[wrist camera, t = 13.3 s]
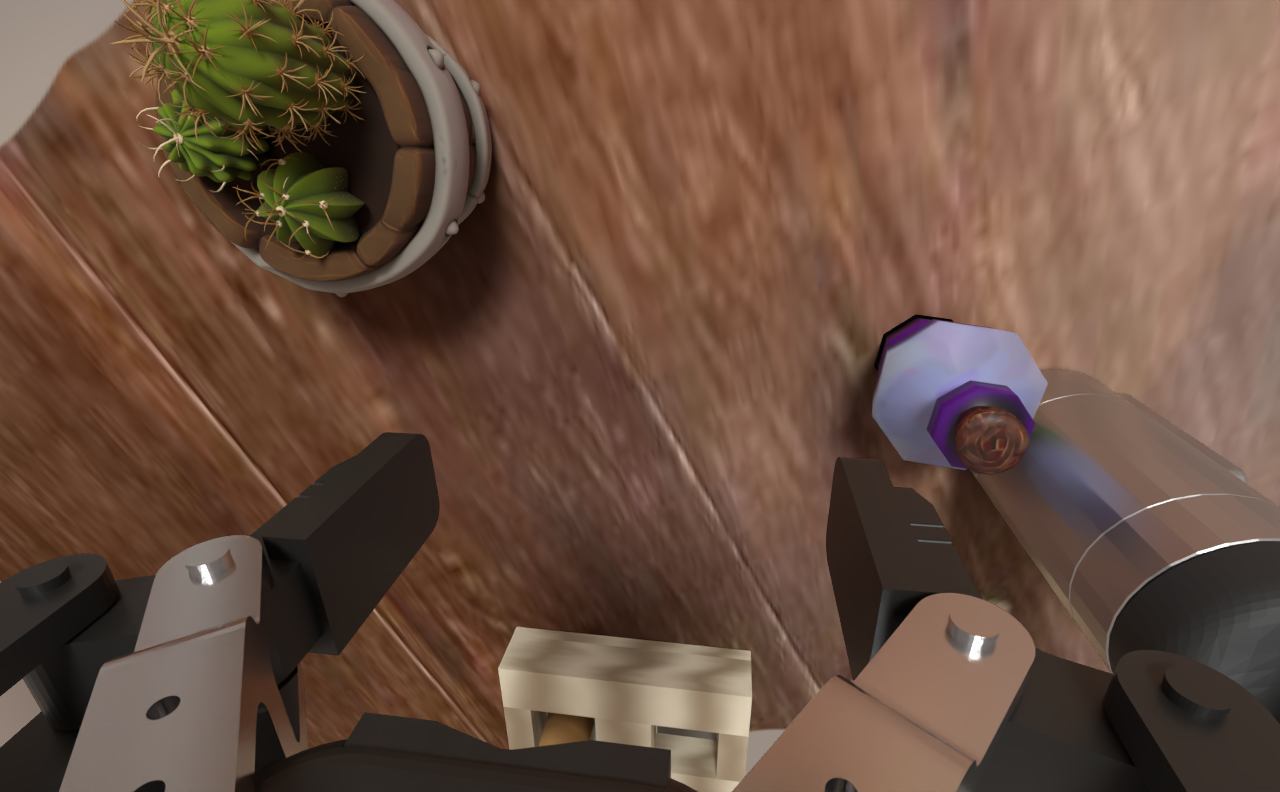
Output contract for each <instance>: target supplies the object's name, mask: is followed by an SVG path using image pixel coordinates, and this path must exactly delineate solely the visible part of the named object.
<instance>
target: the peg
mask: <svg viewBox="0 0 1280 792" xmlns="http://www.w3.org/2000/svg"><path fill="white" fill-rule="evenodd" d="M594 719H595V718H591V717H583V716H575V715H566V714H558V713H550V712H548V716H547V719H546V722H545V726H544V729H543V733H542V736H541V739H540V743H539V746H547V745H555V744H563V743H571V742H580V741H588V740H590V738H591V733H592V729H593V724H594Z"/></svg>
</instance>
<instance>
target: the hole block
mask: <svg viewBox="0 0 1280 792" xmlns="http://www.w3.org/2000/svg"><path fill="white" fill-rule="evenodd" d="M498 671H499V678H500V685H501V692H502V699H503V706H504V713H505V720H506V727H507V735H508V742H509V749H510V750H513V749H522V748H530V747H538V746H539V743H540V739H541V736H542V733H543V729H544V726H545V722H546V719H547V716H548V712H550V713H558V714H566V715H575V716H583V717H591V718H595V719H594V724H593V729H592V733H591V738H590V740H595V741H603V742H611V743H620V744H628V745H636V746H644V747H652V748H661V749H669V750H671V778H672V779H674V780H676V781H679V782H681V783H683V784H686V785H687V786H689V787H691V788H693V789H694V790H696V791H698V792H732V791H733V790H734V788H735V787H736V786H737V785H738V784H739V783H740V781H741V780H742V779H743V778H744V777H745V771H746V760H747V748H748V738H749V726H750V715H751V703H752V679H751V651H746V650H737V649H727V648H717V647H708V646H698V645H688V644H679V643H669V642H659V641H650V640H640V639H630V638H621V637H611V636H602V635H592V634H582V633H573V632H563V631H553V630H544V629H534V628H524V627H516V629H515V632H514V634H513V636H512V638H511V641H510V643H509V645H508V647H507V650H506V652H505V654H504V656H503V659H502V661H501V663H500V665H499V668H498Z"/></svg>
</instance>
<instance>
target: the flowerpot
mask: <svg viewBox="0 0 1280 792" xmlns="http://www.w3.org/2000/svg"><path fill="white" fill-rule="evenodd" d="M122 1H123V2H124V4H125V5H126V6H127V7H128V8H129V10H128V11H130V10H131V11H132V12H133V13H134V14H135V15H136V16H137V17H138V18H139V19H138V18H137V17H136V18H137V19H138V20H139V21H140V22H141V23H142V24H141V23H139V22H138V21H137V22H138V23H139V24H140V25H141V26H142V28H141V27H140V26H138V25H137V24H135V23H134V22H133V21H132V20H131V19H129V18H128V17H127V16H126V15H125V14H124V13H123V14H124V16H125V17H124V18H125V19H126V20H127V22H128V23H129V24H130V26H131V27H132V28H133V29H132V28H129V27H127V26H125V25H123V24H120V23H118V22H116V21H115V22H116V23H118V24H119V25H121V26H122V27H124V28H127V29H129V30H131V31H133V32H136V33H140V34H141V35H134V36H131V37H127V38H126V39H125V40H122V41H118V42H114V43H110V44H124V43H134V44H133V45H132V46H133V48H134V49H135V47H134V46H136V45H135V44H136V43H139V42H148V43H147V47H146V51H145V53H146V55H147V58H149V60H148V59H147V58H146V57H145V56H144V55H143V54H142V53H141V51H140V50H139V49H138V47H137V46H136V48H137V49H138V51H139V52H138V51H137V50H136V49H135V51H136V52H137V53H138V54H139V55H140V56H141V57H142V58H143V59H145V60H147V62H146V61H143V60H141V59H139V58H137V57H135V56H133V55H132V54H130V53H129V54H130V55H131V56H132V57H133V58H132V57H131V58H132V59H133V60H134V61H136V62H137V63H139V64H142V65H144V66H142V67H140V68H138V69H136V70H134V71H133V72H132V74H133V73H135V72H136V71H138V70H139V69H141V68H143V67H144V70H143V74H141V75H140V76H136V77H133V78H137V77H140V78H141V77H142V80H141V82H143V79H144V77H146V76H151V77H150V78H149V79H148V80H146V82H145V84H146V83H148V82H149V81H150V80H151V85H152V89H153V78H154V77H156V76H157V90H156V107H154V108H146V109H144V110H142V111H140V112H139V114H138V115H137V117H138V116H139V115H140V114H141V113H142V112H145V111H150V110H156V113H157V119H156V118H154V117H153V118H154V119H156V120H157V122H158V126H155V127H154V128H153V129H152V128H146V127H142V128H146V129H151V130H154V132H155V133H157V134H159V135H161V136H162V144H161V145H160V146H159V147H158V148H148V147H146V146H144V147H146V148H147V149H151V150H156V152H155V155H154V161H155V156H156V154H157V152H158V150H162V149H163V151H164V154H165V157H166V160H167V161H166V162H165V163H164V164H163V165H162V166H161V168H160V171H159V173H160V172H161V170H162V168H163V167H164V166H165V165H166V164H167V163H168V165H169V167H170V169H171V171H172V173H173V175H174V176H175V178H176V180H177V181H178V183H179V185H180V186H181V188H182V189H183V190H184V192H185V193H186V194H187V196H188V197H189V198H190V200H191V201H192V202H193V203H194V205H195V206H196V207H197V208H198V209H199V211H200V212H201V213H202V214H203V215H204V216H205V217H206V218H207V219H208V221H209V222H210V223H211V224H212V225H213V226H214V227H215V228H216V229H217V230H218V231H219V232H220V233H221V234H222V235H224V236H225V237H226V238H227V239H228V240H230V241H231V242H232V243H233V244H234V245H235V246H236V247H237V248H238V249H240V250H241V251H242V252H243V253H244V254H245V255H246V256H247V257H248V258H250V259H251V260H252V261H253V262H254V263H255V264H256V265H258V266H259V267H260V268H262V269H265V270H267V271H270V272H272V273H274V274H277V275H279V276H281V277H283V278H285V279H287V280H289V281H291V282H293V283H295V284H297V285H299V286H301V287H303V288H306V289H309V290H314V291H321V292H329V293H335V294H336V295H337V296H339V297H345V296H346V295H347V294H348V293H353V292H359V291H364V290H369V289H373V288H377V287H380V286H383V285H386V284H389V283H392V282H394V281H397V280H399V279H401V278H403V277H405V276H407V275H409V274H410V273H412V272H413V271H415V270H416V269H418V268H419V267H420V266H422V265H423V264H424V263H426V262H427V261H428V260H429V259H430V258H431V257H432V256H434V255H435V254H436V253H437V252H438V251H439V250H440V249H441V248H442V247H443V246H444V245H445V244H446V242H447V241H448V240H449V239H450V237H451V236H452V235H454V234H456V233H458V231H459V228H458V225H459V224H460V223H461V222H463V221H464V220H465V219H466V218H467V217H468V216H469V215H470V213H471V212H472V211H473V210H474V208H475V207H476V205H477V204H480V203H482V202H483V201H484V200H485V194H484V190H485V187H486V185H487V182H488V179H489V173H490V167H491V156H492V143H491V133H490V126H489V121H488V116H487V112H486V109H485V106H484V103H483V101H482V99H481V96H480V94H479V93H480V85H479V83H477V82H476V81H474V80H471V78H470V76H469V75H468V73H467V72H466V71H465V70H464V68H463V67H462V66H461V65H460V64H459V63H458V62H457V61H456V60H455V59H454V58H453V57H452V56H451V55H450V54H449V53H448V52H447V51H446V50H445V49H444V48H443V47H442V46H441V45H439V44H438V43H437V42H436V41H434V40H433V39H432V38H431V37H429V36H427V35H426V34H425V33H424V32H423V31H422V29H421V28H420V27H419V26H418V25H417V24H416V22H415V21H414V20H413V19H412V18H411V17H410V16H409V15H408V14H407V13H406V12H405V11H404V10H403V9H402V8H401V7H400V6H399V5H398V4H397V3H396V2H395V1H394V0H144V1H141V3H135V0H134V4H132V5H129V4H128V3H127V2H126V1H125V0H122ZM144 2H149V3H144ZM131 6H132V7H131ZM137 6H148V7H147V8H146V9H145V10H144V12H143V14H144V13H145V11H146V10H147V9H148V8H149V7H151V8H150V10H149V12H148V16H147V12H146V16H145V19H143V18H142V17H141V16H140V15H139V13H138V10H137ZM133 8H135V10H136V11H135V10H134V9H133ZM151 9H152V12H151V13H150V11H151ZM128 11H127V12H128ZM151 16H152V17H151ZM150 17H151V19H150V21H151V20H152V23H151V24H149V23H150V21H149V23H148V22H147V20H148V19H149V18H150ZM132 23H133V24H134V25H135V26H134V25H133V24H132ZM137 28H138V29H139V30H138V29H137ZM140 30H141V31H143V32H141V31H140ZM144 32H145V33H144ZM136 37H142V38H137V39H133V40H129V39H132V38H136ZM149 43H152V47H153V53H152V54H151V53H150V51H149V53H150V55H151V56H150V57H149V56H148V54H147V50H149V49H148V44H149ZM133 48H132V49H133ZM144 50H145V49H144ZM134 58H135V59H134ZM136 59H137V60H139V61H141V62H139V61H137V60H136ZM142 62H143V63H142ZM144 63H146V64H144ZM148 68H150V69H148ZM153 69H154V71H153V73H151V74H148V73H149V72H150V71H151V70H153ZM146 73H147V74H146ZM132 74H131V75H132ZM131 75H130V76H131ZM130 76H129V77H130ZM140 78H139V79H140ZM145 84H144V85H145ZM153 91H154V89H153ZM148 116H150V115H148ZM150 117H152V116H150ZM157 122H156V123H157ZM136 126H137V125H136ZM139 127H141V126H139ZM139 143H140V142H139ZM140 144H141V143H140ZM141 145H142V144H141ZM142 146H143V145H142ZM159 173H158V176H159Z"/></svg>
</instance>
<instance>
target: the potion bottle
mask: <svg viewBox="0 0 1280 792" xmlns="http://www.w3.org/2000/svg"><path fill="white" fill-rule="evenodd" d="M875 368H876V369H877V371H878V378H877V381H876V385H875V388H874V391H873V405H872V417H873V418H874V420H875V421H876V422H877V424H878V425H879V427H880V428H881V429H882V431H883V432H884V434H885V435H886V436H887V438H888V439H889V441H890V442H891V443H892V445H893V446H894V448H895V449H896V450H897V452H898V453H899V455H900V456H901V458H902V459H903V460H905V461H911V462H917V463H923V464H930V465H936V466H942V467H948V468H954V469H960V470H966V469H970V470H972V471H973V472H975V473H977V474H986V475H993V474H997V473H1002V472H1005V471H1007V470H1009V469H1011V468H1013V467H1014V466H1016V465H1017V464H1018V463H1019V461H1020V459H1021V457H1022V455H1023V454H1024V452H1025V451H1026V449H1027V448H1028V446H1029V445H1030V442H1029V437H1030V435H1031V432H1032V430H1033V428H1034V425H1035V422H1034V421H1033V418H1034V416H1035V413H1036V411H1037V409H1038V406H1039V404H1040V401H1041V399H1042V397H1043V394H1044V392H1045V390H1046V387H1047V385H1048V383H1047V381H1046V380H1045V378H1044V376H1043V375H1042V373H1041V371H1040V370H1039V368H1038V366H1037V365H1036V363H1035V362H1034V360H1033V358H1032V357H1031V355H1030V353H1029V352H1028V350H1027V348H1026V347H1025V345H1024V344H1023V342H1022V340H1021V339H1020V337H1019V335H1018V334H1017V333H1013V332H1008V331H1003V330H998V329H994V328H989V327H983V326H976V325H968V324H962V323H955V322H953V321H952V320H951V319H944V318H937V317H930V316H923V315H914V316H912V317H911V318H909V319H908V320H906V321H904V322H903V323H901V324H899V325H898V326H896V327H895V328H893V329H891V330H890V331H888V332H886V333H885V334H884V335H883V338H882V341H881V345H880V348H879V352H878V355H877V359H876V362H875Z"/></svg>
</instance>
